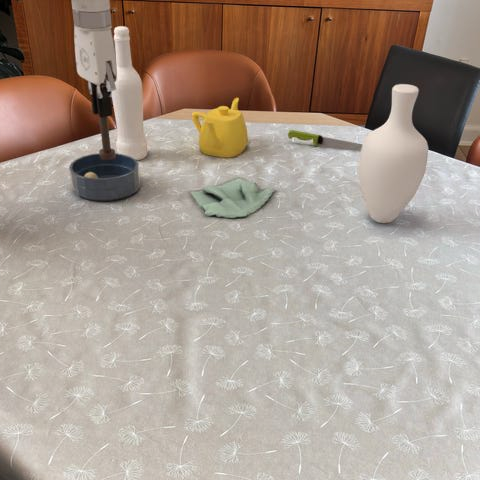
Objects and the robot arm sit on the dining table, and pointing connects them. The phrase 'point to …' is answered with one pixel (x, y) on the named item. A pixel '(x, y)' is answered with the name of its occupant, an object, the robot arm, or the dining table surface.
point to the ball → (91, 175)
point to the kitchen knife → (324, 141)
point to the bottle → (128, 100)
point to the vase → (393, 159)
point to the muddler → (105, 139)
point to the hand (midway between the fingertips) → (102, 114)
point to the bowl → (105, 177)
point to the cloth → (232, 199)
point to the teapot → (222, 131)
